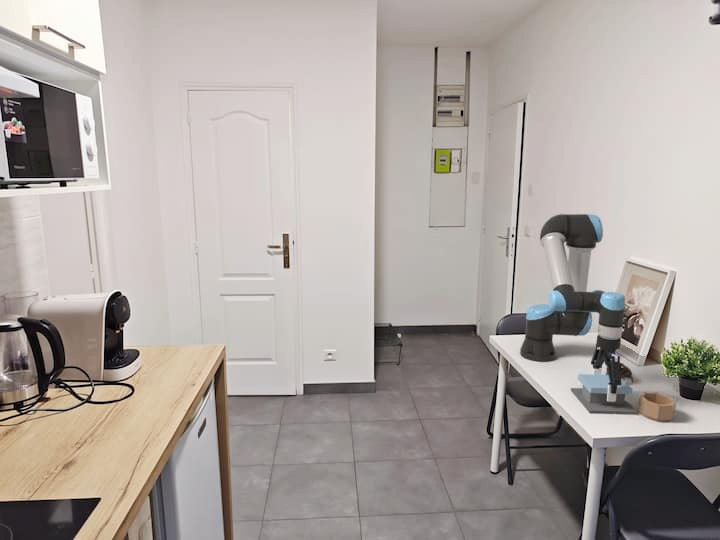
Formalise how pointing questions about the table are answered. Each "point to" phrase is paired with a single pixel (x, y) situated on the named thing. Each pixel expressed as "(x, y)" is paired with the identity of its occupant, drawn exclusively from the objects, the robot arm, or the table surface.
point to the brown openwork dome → (624, 372)
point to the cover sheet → (602, 384)
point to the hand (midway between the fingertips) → (603, 393)
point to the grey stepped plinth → (603, 402)
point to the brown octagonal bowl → (656, 406)
